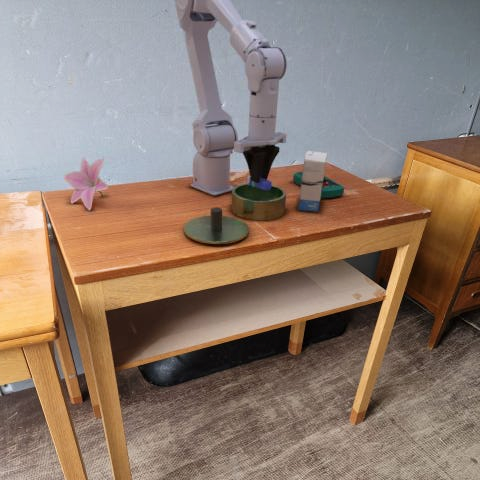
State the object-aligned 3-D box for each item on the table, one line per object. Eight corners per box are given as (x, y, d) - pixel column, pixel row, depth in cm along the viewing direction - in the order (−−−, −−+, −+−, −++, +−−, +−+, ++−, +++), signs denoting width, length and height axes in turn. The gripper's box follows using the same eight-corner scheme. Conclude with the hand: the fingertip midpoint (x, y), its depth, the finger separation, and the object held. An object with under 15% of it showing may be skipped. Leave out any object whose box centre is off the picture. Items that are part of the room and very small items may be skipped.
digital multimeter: (320, 200, 111) (321, 189, 109) (291, 181, 122) (292, 171, 120) (344, 197, 113) (346, 186, 112) (314, 179, 124) (315, 168, 122)
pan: (220, 208, 104) (220, 190, 101) (256, 196, 111) (257, 179, 109) (258, 225, 97) (260, 205, 94) (294, 211, 104) (296, 193, 102)
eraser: (252, 183, 103) (252, 174, 102) (271, 189, 100) (272, 181, 98) (246, 184, 102) (246, 175, 101) (265, 191, 98) (265, 182, 97)
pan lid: (170, 231, 93) (169, 207, 90) (218, 215, 101) (218, 193, 98) (214, 253, 85) (214, 228, 82) (261, 234, 93) (263, 211, 90)
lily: (67, 198, 109) (47, 169, 100) (109, 174, 110) (92, 143, 102) (87, 228, 104) (68, 200, 95) (130, 202, 105) (115, 172, 97)
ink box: (318, 212, 104) (326, 161, 97) (297, 210, 105) (303, 159, 98) (320, 200, 111) (327, 151, 104) (300, 198, 111) (306, 149, 105)
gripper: (252, 123, 86) (249, 191, 93) (299, 114, 94) (292, 178, 102) (227, 116, 89) (226, 183, 97) (274, 109, 98) (270, 170, 106)
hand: (258, 180), depth 100 cm, fingers closed on eraser, 2 cm apart
